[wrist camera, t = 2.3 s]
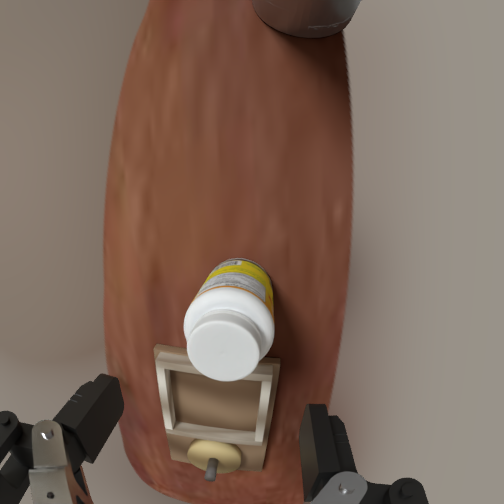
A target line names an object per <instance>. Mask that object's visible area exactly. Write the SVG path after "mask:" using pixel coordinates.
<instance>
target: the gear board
mask: <svg viewBox="0 0 504 504" xmlns="http://www.w3.org/2000/svg"><path fill="white" fill-rule="evenodd" d="M154 357H155V366H156V374H157V381H158V388H159V395H160V401H161V407H162V413H163V419H164V424H165V430H166V435H167V440H168V444H169V449H170V454H171V458H172V460H177V461H182V462H187V463H192V464H193V465H195V466H196V467H198V468H200V469H202V470H205V471H206V474H205V480H207V481H215V478H216V473H228V472H232V471H235V470H246V471H260V472H262V467H263V462H264V457H265V452H266V447H267V441H268V436H269V430H270V425H271V419H272V413H273V407H274V401H275V395H276V389H277V383H278V377H279V370H280V358H269V357H263V358H262V359H261V360H260V361H259V362H258V364H257V366H256V368H255V369H254V371H253V372H252V373H251V374H249V375H248V376H246V377H245V378H242V379H240V380H236V381H218V380H214V379H211V378H209V377H207V376H205V375H203V374H202V373H200V372H199V371H198V370H197V369H196V368H195V367H194V366H193V364H192V363H191V361H190V359H189V356H188V353H187V348H180V347H174V346H168V345H162V344H156V346H155V347H154Z"/></svg>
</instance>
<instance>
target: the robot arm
mask: <svg viewBox="0 0 504 504" xmlns="http://www.w3.org/2000/svg"><path fill="white" fill-rule="evenodd" d="M360 1H361V0H252V3H253V7H254V9H255V12H256V13H257V14H258V16H259V17H260V18H261V19H262V20H263V21H264V22H265V23H266V24H268V25H269V26H271V27H273V28H274V29H276V30H278V31H281V32H283V33H286V34H289V35H293V36H297V37H305V38H321V37H326V36H330V35H333V34H335V33H338V32H340V31H341V30H342V29H344V28H345V27H346V26H347V25H348V23H349V22H350V21H351V18H352V17H353V15H354V13H355V11H356V9H357V7H358V5H359V3H360ZM123 410H124V401H123V397H122V393H121V389H120V384H119V380H118V378H116V377H113V376H109V375H106V374H100V375H99V376H98V377H97V378H96V379H95V380H94V382H92V381H89V382H88V383H86V384H84V385H82V386H81V387H80V388H79V389H78V390H77V391H76V393H75V395H73V396H72V397H71V398H70V400H69V401H68V402H67V403H66V404H65V405H64V407H63V408H62V409H61V410H60V411H59V413H58V414H57V415H56V417H54V419H53V420H42V421H39V422H37V423H36V424H35V425H30V424H26V423H21V422H19V420H18V418H17V416H16V415H15V414H14V413H13V412H10V411H2V412H0V463H1V462H2V460H3V459H4V458H5V456H6V455H7V453H8V452H10V453H11V456H10V457H9V459H8V460H7V461H6V463H5V464H4V466H3V467H2V468H1V470H0V504H19V503H20V501H21V499H22V497H23V496H24V494H25V492H26V490H27V488H28V487H29V485H30V487H31V494H32V500H33V504H94V503H93V501H92V499H91V496H90V493H89V490H88V486H87V483H86V479H85V476H84V472H83V468H82V466H81V464H82V463H83V461H87V462H89V463H92V464H93V463H94V461H95V460H96V458H97V456H98V454H99V452H100V451H101V449H102V448H103V446H104V444H105V442H106V441H107V439H108V437H109V436H110V434H111V432H112V430H113V429H114V427H115V426H116V424H117V422H118V421H119V419H120V417H121V416H122V413H123ZM346 434H347V433H346V429H345V425H344V423H343V422H342V421H341V420H340V419H339V417H338V416H328V412H327V407H326V405H325V404H307V405H306V408H305V412H304V416H303V419H302V423H301V427H300V433H299V444H300V455H301V466H302V478H303V490H304V502H311V501H312V502H311V503H310V504H429V503H428V500H427V497H426V494H425V491H424V488H423V486H422V484H421V483H420V482H418V481H417V480H415V479H412V478H401V479H399V480H397V481H395V482H394V483H393V484H392V485H385V484H375V483H370V482H368V481H366V480H365V479H364V478H363V477H362V476H361V475H359V474H358V472H357V470H356V467H355V463H354V459H353V455H352V452H351V448H350V444H349V440H348V437H347V435H346Z"/></svg>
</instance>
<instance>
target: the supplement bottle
mask: <svg viewBox="0 0 504 504" xmlns="http://www.w3.org/2000/svg"><path fill="white" fill-rule="evenodd" d="M184 333H185V337H186V340H187V353H188V356H189V359H190V361H191V363H192V364H193V366H194V367H195V368H196V369H197V370H198V371H199V372H200V373H202V374H203V375H205V376H207V377H209V378H211V379H214V380H218V381H236V380H240V379H242V378H245V377H246V376H248V375H249V374H251V373H252V372H253V371H254V369H255V368H256V366H257V364H258V362H259V361H260V360H261V359H262V358H263V357H264V356H265V355H266V354H267V353H268V351H269V349H270V348H271V345H272V343H273V339H274V306H273V289H272V283H271V280H270V278H269V276H268V274H267V273H266V271H265V270H264V269H263V268H262V267H261V266H260V265H258V264H257V263H255V262H253V261H250V260H247V259H241V258H236V259H230V260H227V261H224V262H222V263H220V264H219V265H218V266H216V267H215V268H214V270H213V271H212V272H211V273H210V275H209V276H208V278H207V279H206V281H205V283H204V284H203V286H202V287H201V289H200V290H199V292H198V293H197V295H196V297H195V298H194V300H193V301H192V303H191V305H190V307H189V308H188V310H187V313H186V315H185V319H184Z"/></svg>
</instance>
